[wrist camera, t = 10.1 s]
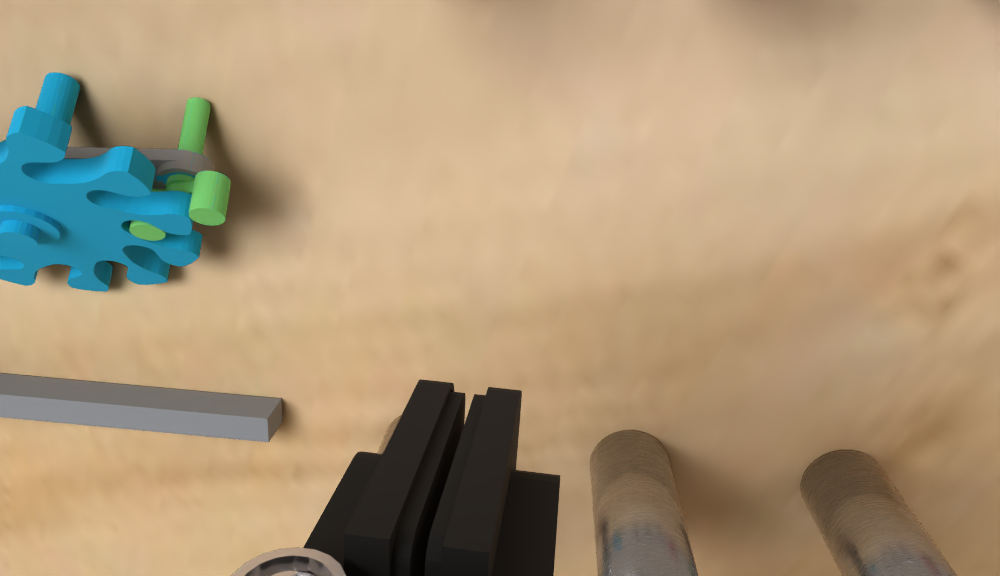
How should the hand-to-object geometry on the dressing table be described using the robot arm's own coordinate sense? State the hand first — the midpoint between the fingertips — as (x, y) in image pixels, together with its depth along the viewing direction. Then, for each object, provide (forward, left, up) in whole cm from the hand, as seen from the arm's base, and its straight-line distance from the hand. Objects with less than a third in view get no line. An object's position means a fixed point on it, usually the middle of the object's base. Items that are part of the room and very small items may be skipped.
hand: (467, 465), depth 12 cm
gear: (0, +14, -15) cm, 20 cm away
